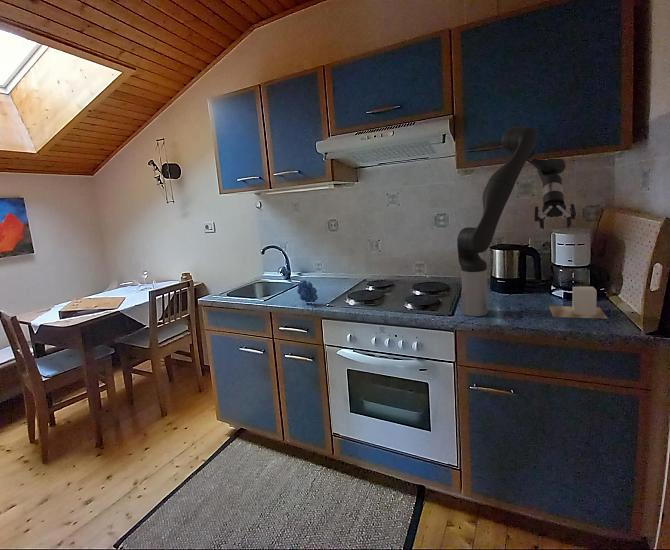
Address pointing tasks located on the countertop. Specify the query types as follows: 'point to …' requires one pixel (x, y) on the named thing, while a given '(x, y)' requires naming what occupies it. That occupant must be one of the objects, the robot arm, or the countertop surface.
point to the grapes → (307, 291)
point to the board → (568, 312)
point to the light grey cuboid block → (584, 300)
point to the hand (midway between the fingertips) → (555, 227)
